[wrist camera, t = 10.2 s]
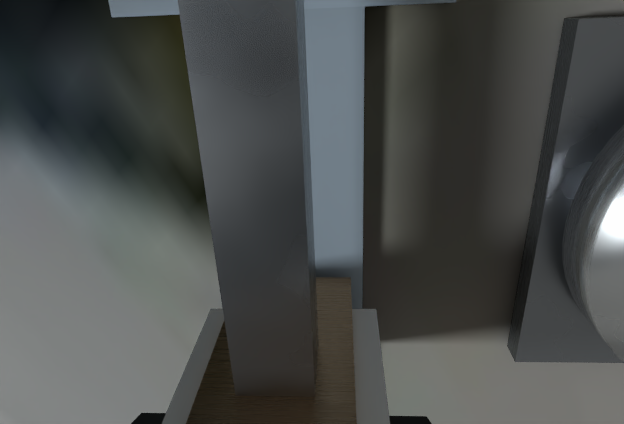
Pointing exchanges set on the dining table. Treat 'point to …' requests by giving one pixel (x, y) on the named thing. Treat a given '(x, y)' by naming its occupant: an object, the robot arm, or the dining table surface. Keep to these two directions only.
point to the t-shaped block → (325, 124)
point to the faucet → (599, 244)
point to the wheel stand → (567, 192)
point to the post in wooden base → (264, 222)
